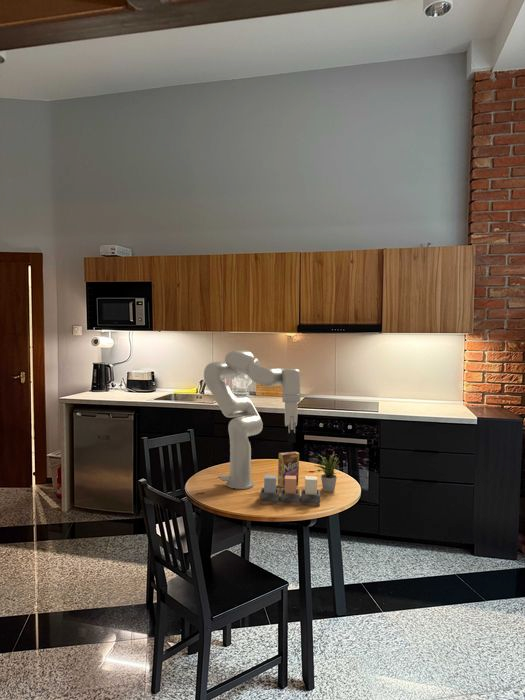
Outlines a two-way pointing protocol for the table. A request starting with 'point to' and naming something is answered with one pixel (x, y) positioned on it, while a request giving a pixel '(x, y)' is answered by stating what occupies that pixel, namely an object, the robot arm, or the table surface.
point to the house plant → (328, 474)
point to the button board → (290, 498)
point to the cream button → (311, 485)
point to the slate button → (270, 484)
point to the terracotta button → (290, 484)
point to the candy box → (288, 467)
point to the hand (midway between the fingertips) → (291, 442)
